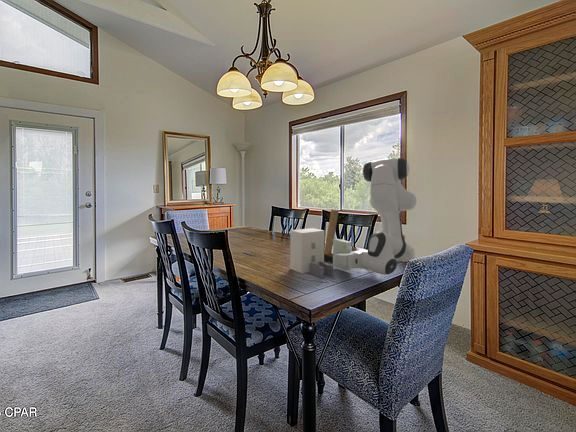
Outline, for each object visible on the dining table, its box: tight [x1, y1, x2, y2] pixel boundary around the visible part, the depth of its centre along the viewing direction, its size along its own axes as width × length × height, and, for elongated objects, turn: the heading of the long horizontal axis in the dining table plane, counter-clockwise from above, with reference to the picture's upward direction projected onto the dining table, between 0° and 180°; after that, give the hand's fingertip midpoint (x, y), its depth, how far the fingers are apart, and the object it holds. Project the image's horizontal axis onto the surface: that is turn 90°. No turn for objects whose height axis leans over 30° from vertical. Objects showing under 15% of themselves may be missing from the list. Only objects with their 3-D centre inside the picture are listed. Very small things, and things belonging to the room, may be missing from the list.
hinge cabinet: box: [289, 227, 334, 279], centre depth 154 cm, size 22×14×20 cm, turn 33°
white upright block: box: [332, 238, 352, 271], centre depth 156 cm, size 10×4×14 cm, turn 33°
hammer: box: [324, 209, 340, 264], centre depth 174 cm, size 20×5×30 cm, turn 46°
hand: (343, 253), depth 155 cm, fingers closed on white upright block, 3 cm apart
